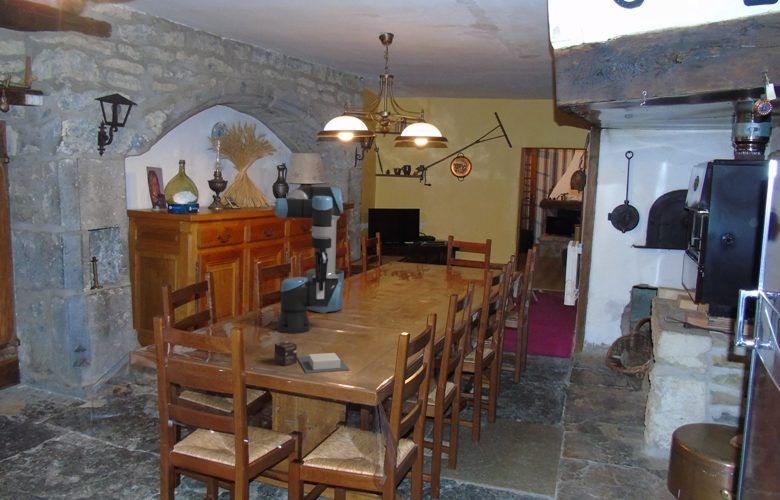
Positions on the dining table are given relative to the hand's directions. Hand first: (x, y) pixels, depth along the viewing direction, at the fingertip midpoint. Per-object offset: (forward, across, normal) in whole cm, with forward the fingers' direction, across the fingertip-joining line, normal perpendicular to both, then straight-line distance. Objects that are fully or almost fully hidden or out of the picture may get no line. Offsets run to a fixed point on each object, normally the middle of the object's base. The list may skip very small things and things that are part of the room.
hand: (320, 298), depth 236 cm
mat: (+24, +7, 0) cm, 25 cm away
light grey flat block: (+22, +6, 0) cm, 22 cm away
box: (+24, +3, -13) cm, 28 cm away
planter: (+25, -78, +20) cm, 84 cm away
